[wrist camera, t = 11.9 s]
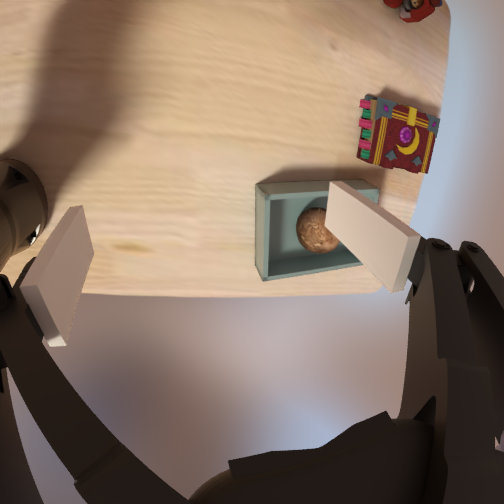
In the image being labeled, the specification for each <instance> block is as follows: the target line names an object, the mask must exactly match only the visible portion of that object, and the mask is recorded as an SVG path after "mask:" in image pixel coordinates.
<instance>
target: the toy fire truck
mask: <svg viewBox="0 0 504 504" xmlns="http://www.w3.org/2000/svg"><path fill="white" fill-rule="evenodd" d="M383 1H384V3H385V4H386V5H387V6H389V7H391V8H397V7H400V18H401V19H402V20H403V21H405V22H407V23H409V22H419V21H421V20H422V19H424V18H426V17H427V16H429V15H431V14H432V13H433V12H434V11H435V7H439V6H441V5H442V0H383Z"/></svg>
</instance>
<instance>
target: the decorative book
mask: <svg viewBox="0 0 504 504" xmlns="http://www.w3.org/2000/svg"><path fill="white" fill-rule="evenodd" d="M359 107H361V108H363V115H362V117H363V119H360V120H359V126H360V127H362V129H361V135H360V141H359V146H358V152H357V158H359V159H361V160H363V161H365V162H367V163H370V164H377V165H379V166H381V167H383V168H389V169H393V167H395V168H401V169H405V170H407V171H409V172H412V173H417V174H418V172H422V173H428V169H429V165H430V161H431V156H432V152H433V147H434V143H435V137H436V138H437V133H438V128H439V122H440V119H439V118H436V117H434V116H431V115H429V114H426V113H421V112H418V111H417V109H415V108H413V107H409V106H404V105H399V104H398V103H396V102H393V101H390V100H387V99H384V98H381V97H378V98H374V97H371V96H366V95H365V100H361V99H360V106H359Z"/></svg>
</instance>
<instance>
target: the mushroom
mask: <svg viewBox="0 0 504 504" xmlns="http://www.w3.org/2000/svg"><path fill="white" fill-rule="evenodd" d="M326 211H327V210H326V209H324V208H322V207H312V208H309V209H306V210H304V211H303V212H302V213H301V214H300V215H299V216H298V219H297V223H296V233H297V237H298V240H299V243H300V244H301V245H302V246H303V247H304V248H305V249H306V250H308V251H311V252H313V253H320V254H322V253H327V252H330V251H332V250H333V249H335V248H336V247H337V246H338V244H339V242H340V240H339V239H338V238H337V237H336V236H335V235H333V234H332V233H331V232H330V231H329V230H328V229H327V228H326V227H325V219H326Z"/></svg>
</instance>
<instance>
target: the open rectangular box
mask: <svg viewBox="0 0 504 504" xmlns="http://www.w3.org/2000/svg"><path fill="white" fill-rule="evenodd" d="M330 181H342V182H344V183H345V184H347V185H348V186H350V187H352V188H353V189H355V190H356V191H358V192H359V193H361V194H363V195H364V196H366V197H367V198H369V199H370V200H372V201H373V202H375V203H376V204H377V203H378V197H379V191H380V189H379V188H377V187H375V186H374V185H372V184H370V183H368V182H367V181H365V180H323V181H299V182H281V183H265V184H256V186H255V266H256V268H257V270H258V273H259V275H260V277H261V279H262V281H270V280H276V279H283V278H289V277H295V276H301V275H307V274H313V273H319V272H325V271H331V270H337V269H343V268H348V267H354V266H360V265H363V263H362V262H361V261H360V260H359V259H358V258H357V257H356V256H355V255H354V254H353V253H352V252H351V251H350V250H349V249H348V248H347V247H346V246H345V245H344V244H343V243H342V242H341V241H340V242H339V244H338V246H337V247H336V248H335V249H333V250H332V251H330V252H327V253H322V254H320V253H313V252H311V251H308V250H306V249H305V248H304V247H303V246H302V245H301V244H300V243H299V240H298V237H297V233H296V223H297V219H298V216H299V215H300V214H301V213H302V212H303V211H304V210H306V209H309V208H312V207H322V208H324V209H326V210H327V203H328V195H329V186H330Z"/></svg>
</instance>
